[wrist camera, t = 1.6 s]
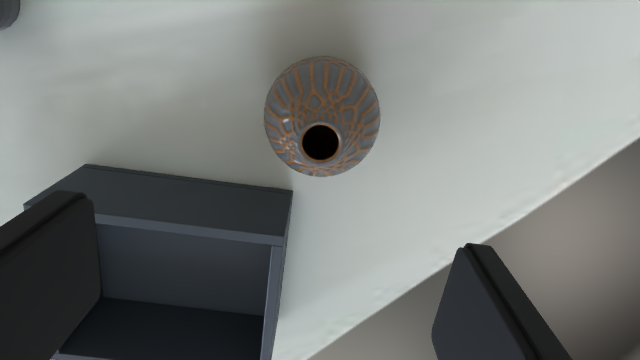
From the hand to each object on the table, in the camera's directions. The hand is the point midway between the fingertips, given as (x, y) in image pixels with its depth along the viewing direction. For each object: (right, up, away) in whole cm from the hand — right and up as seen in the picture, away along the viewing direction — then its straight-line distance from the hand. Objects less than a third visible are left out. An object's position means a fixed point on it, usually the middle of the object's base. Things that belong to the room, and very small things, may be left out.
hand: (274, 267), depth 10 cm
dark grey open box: (-9, -3, +22) cm, 24 cm away
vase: (+1, +8, +17) cm, 19 cm away
